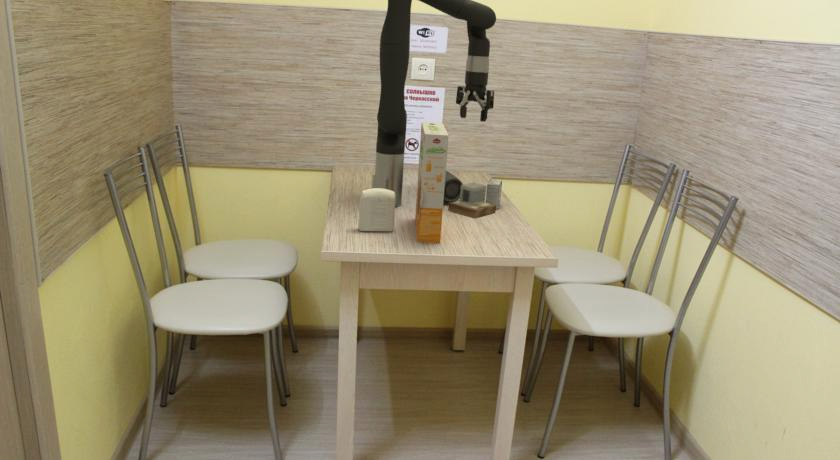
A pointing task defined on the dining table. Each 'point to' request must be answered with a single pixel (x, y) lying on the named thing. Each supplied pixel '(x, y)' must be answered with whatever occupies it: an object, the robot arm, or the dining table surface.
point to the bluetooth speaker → (452, 188)
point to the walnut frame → (472, 209)
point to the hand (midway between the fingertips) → (473, 119)
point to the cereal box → (431, 181)
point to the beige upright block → (377, 210)
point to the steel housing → (472, 194)
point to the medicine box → (494, 192)
